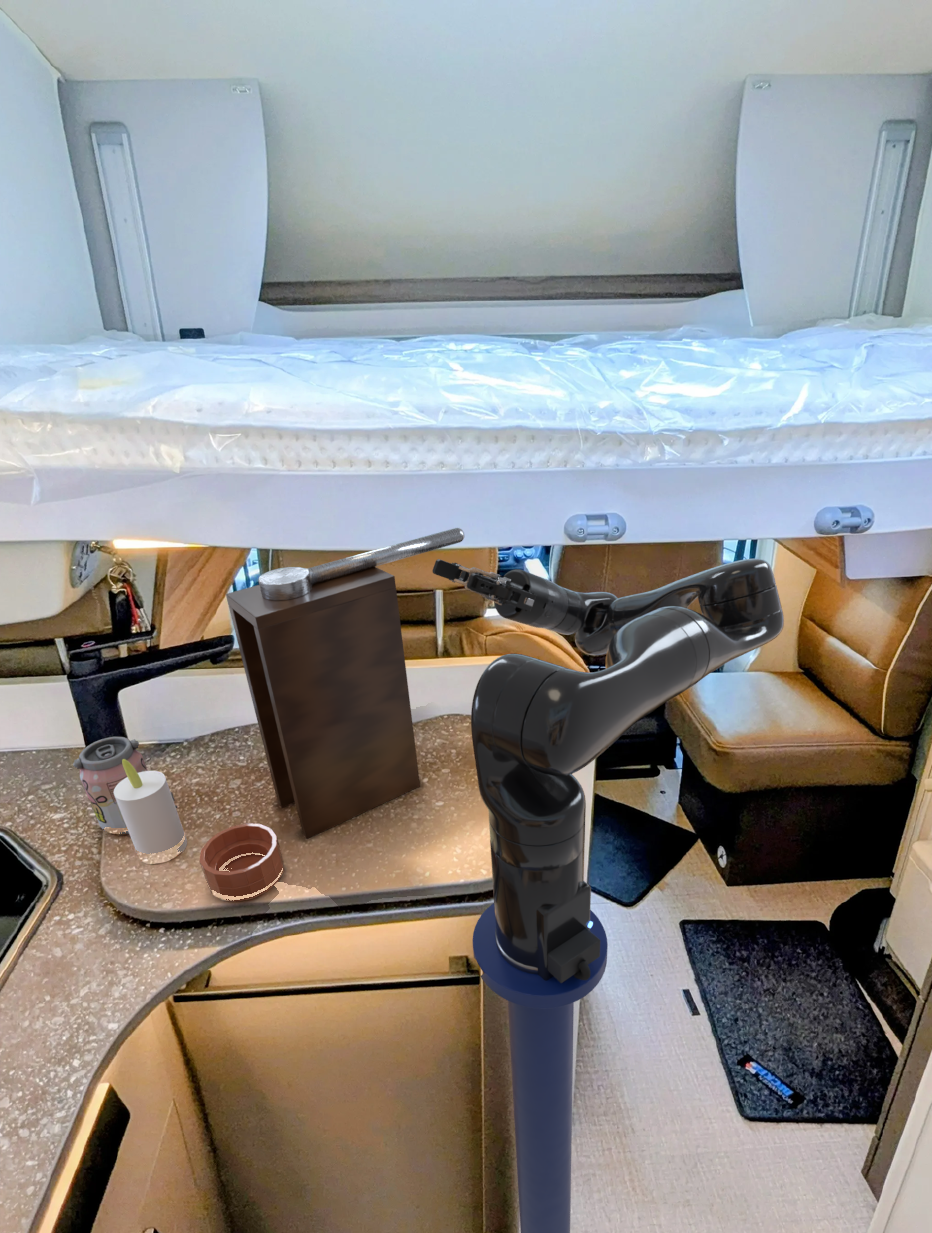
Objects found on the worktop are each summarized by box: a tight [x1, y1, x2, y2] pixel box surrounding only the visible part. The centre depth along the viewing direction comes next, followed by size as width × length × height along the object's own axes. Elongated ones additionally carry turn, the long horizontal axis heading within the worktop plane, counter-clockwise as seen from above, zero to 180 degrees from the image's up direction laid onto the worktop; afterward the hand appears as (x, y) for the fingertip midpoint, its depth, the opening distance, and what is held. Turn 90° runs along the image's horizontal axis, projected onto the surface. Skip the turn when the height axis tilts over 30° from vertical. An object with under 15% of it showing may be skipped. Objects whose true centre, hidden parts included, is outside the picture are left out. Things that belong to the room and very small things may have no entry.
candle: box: [113, 759, 188, 854], centre depth 91 cm, size 6×6×15 cm
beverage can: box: [72, 736, 149, 835], centre depth 98 cm, size 9×8×12 cm
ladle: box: [257, 527, 465, 601], centre depth 89 cm, size 29×6×2 cm, turn 124°
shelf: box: [225, 566, 421, 840], centre depth 94 cm, size 18×10×32 cm, turn 124°
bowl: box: [198, 822, 285, 903], centre depth 87 cm, size 9×9×5 cm
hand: (452, 573), depth 97 cm, fingers open, 8 cm apart
